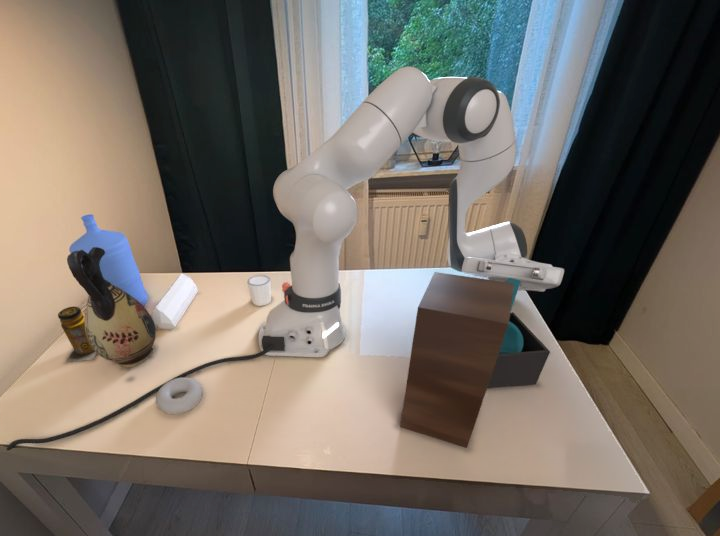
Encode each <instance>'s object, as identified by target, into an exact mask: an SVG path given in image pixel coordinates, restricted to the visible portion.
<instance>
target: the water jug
mask: <svg viewBox="0 0 720 536" xmlns="http://www.w3.org/2000/svg"><path fill="white" fill-rule="evenodd" d="M94 216H95V215H94V214H91V213H90V214H85V215H83V216H80V219H81V220H82V222H83V226H84V228H85V230H86V232H85V233H84V234H83V235H81V236H80V237H79V238H78V239H75V241H73V242H72V243H71V244H70V246H69V249H68V251H69V253H70V254H71V253H72V252H74V251H80V250H83V251H85V252H86V253H89V251H90V250H91V249H92V248H93V247H98V248H102V249H104V251H105V254H104V255H103V257H102V258H101V260H100V264H99V265H100V270H101V273H102V276H103V278H104V279H105V280H107V281H108V282H110V283H111V284H112V285H114V286H116V287H118V288H120V289H122V290H123V291H125V292H126V293H128V294H129V295H131V296H132V297H134V298H135V299H136V300H138V301H139V302H140V303H141V304H142V305H143V306H144V307H145V305H146V304H147V302H148V300H149V295H148V292H147V290H146V288H145V285H144V282H143V279H142V277H141V273H140V270H139V268H138V266H137V263H136V261H135V258H134V255H133V253H132V249H131V245H130V242H129V240H128V238H127V236H126V234H124V233H122V232H119V231H114V230H107V229H100V227H98V224H97V221H96V220H95V217H94ZM81 265H82V264H81ZM82 268H83V267H82Z"/></svg>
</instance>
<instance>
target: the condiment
mask: <svg viewBox="0 0 720 536" xmlns="http://www.w3.org/2000/svg"><path fill="white" fill-rule="evenodd" d="M57 317H58V319H59V321H60V325H61V328H62V330H63V332H64V334H65V335H66V338H67V339H68V342H69V343H70V345H71V346H72V347H71V348H72V349H73V350H72V351H71V352H70V354H69V355H68V357H67V358H66V359H65V362H79V361H81V362H83V361H89V360H94V359H95V357H96V356H97V355H98V354H97V353H96V352H95V351H94V350H93V348H92V347H91V345H90V343H89V341H88V338H87V335H86V331H85V324H84V319H85V314H84V313H83V312H82V310H81V308H80V307H79V306H68V307H65V308H63V309H62V310H61V311H59V312H58V314H57Z"/></svg>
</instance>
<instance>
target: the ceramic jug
mask: <svg viewBox="0 0 720 536" xmlns="http://www.w3.org/2000/svg"><path fill="white" fill-rule="evenodd" d="M104 254H105V251H104V249H102V248H98V247H93V248H92V249H91V250H90V251H89V253H86V252H85V251H83V250H80V251H74V252H72V253H70V254H68V255H67V258H66V261H67V265H68V269H69V270H70V272H71V275H72V276H73V278H74V279H75V281H76V282H78V284H79V286H81V288H82V289H83V290H84V291H85V292H86V293H87V295H88V297H87V300H86V306H85V312H84V316H85V319H84V324H85V331H86V335H87V338H88V341H89V343H90V345H91V347H92V348H93V350H94V351H95V352H96V353H97V354H96V355H98V356H100V357H101V358H103V359H105V360H106V361H111V362H113V363H116V364H118V365H119V366H121V367H123V368H125V369H126V368H127V369H128V368H129V369H131V368H132V367H135V366H138V365H140V364H142V363H144V362H146V361H147V360H148V359H150V358H151V356H152V355H153V352H154V348H153V346H154V344H155V340H156V336H157V332H156V331H157V329H156V328H155V324H154V321H153V319H152V317H151V313H150V312H149V311H148V309H146V307H145V305H144V306H143V305H142V304H141V303H140V302H139V301H138V300H136V299H135V298H134V297H132V296H131V295H129V294H128V293H126V292H125V291H123V290H122V289H120V288H118V287H116V286H114V285H112V284H111V283H110V282H108V281H107V280H105V279H104V278H103V276H102V273H101V270H100V265H99V264H100V260H101V258H102V257H103V255H104ZM81 264H82V265H81ZM82 267H83V268H82Z"/></svg>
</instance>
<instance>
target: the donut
mask: <svg viewBox="0 0 720 536" xmlns="http://www.w3.org/2000/svg"><path fill="white" fill-rule="evenodd" d="M172 379H173V378H172ZM170 380H171V379H170ZM168 381H169V380H168ZM168 381H166V382H167V383H166V382H165V383H166V384H164V383H163V384H164V385H163V386H162V387H161V388H160V389H159V391H158V392H156V395H155V404H156V406H157V408H158V410H160V411H161V412H162V413H165V414H167V415H181V414H186V413H187V412H190V411H191V410H193V409H194V408H195V407H197V406H198V404H199V403H200V401H201V399H202V396H203V388H202V386H201V385H200V383H199V381H197V380H195V379H193V378H191V377H183V378H176V379H173V380H171V381H169V382H168ZM180 393H185V394H184V395H183V396H181V397H177V398H173V397H175V396H176V395H179V394H180Z"/></svg>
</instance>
